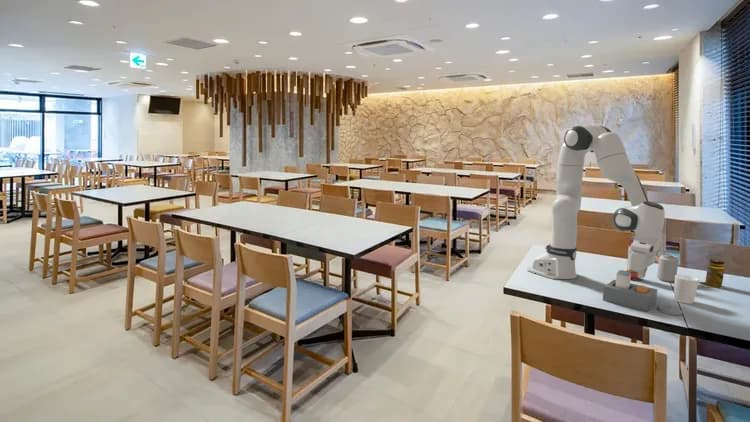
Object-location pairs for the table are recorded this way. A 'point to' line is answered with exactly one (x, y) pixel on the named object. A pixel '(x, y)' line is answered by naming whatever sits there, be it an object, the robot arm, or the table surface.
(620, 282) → the cartridge
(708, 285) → the condiment
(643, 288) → the orange round ball
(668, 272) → the can
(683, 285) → the white cup
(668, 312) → the coaster
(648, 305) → the housing
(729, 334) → the table surface
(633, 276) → the liquor
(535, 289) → the table surface
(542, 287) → the table surface
